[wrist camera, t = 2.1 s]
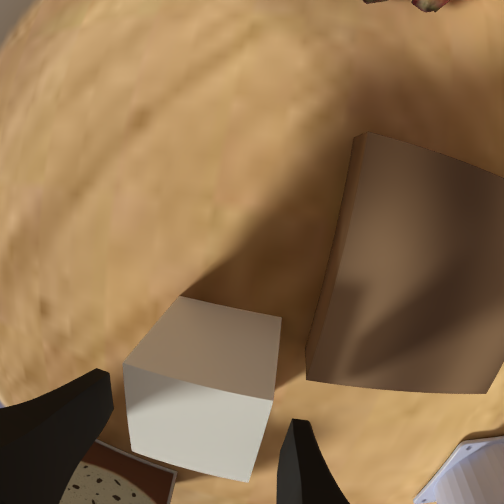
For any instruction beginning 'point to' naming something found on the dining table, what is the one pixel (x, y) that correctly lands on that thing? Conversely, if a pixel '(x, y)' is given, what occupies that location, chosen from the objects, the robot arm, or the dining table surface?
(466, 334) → the block
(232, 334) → the ceramic block
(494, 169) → the dining table surface
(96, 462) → the food container
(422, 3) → the dragon fruit
